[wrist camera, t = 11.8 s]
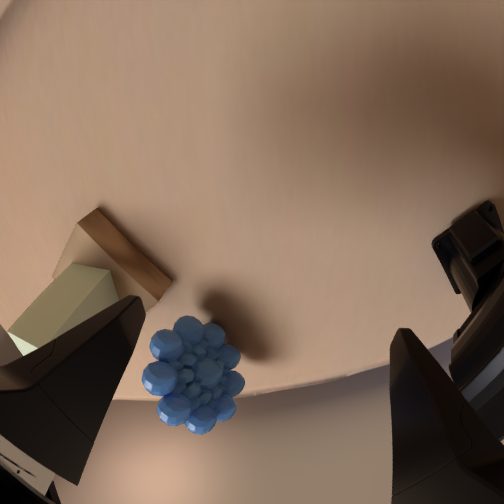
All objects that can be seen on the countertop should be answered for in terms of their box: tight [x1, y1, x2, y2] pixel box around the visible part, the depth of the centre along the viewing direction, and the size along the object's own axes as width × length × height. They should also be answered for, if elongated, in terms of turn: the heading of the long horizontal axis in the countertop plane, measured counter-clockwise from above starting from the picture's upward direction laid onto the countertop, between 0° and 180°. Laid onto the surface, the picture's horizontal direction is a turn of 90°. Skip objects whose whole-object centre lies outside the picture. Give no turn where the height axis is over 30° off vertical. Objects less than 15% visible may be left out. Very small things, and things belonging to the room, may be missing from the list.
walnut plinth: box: [52, 208, 172, 312], centre depth 27 cm, size 10×10×3 cm
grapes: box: [142, 315, 245, 434], centre depth 25 cm, size 12×7×12 cm, turn 30°
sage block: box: [7, 263, 119, 356], centre depth 22 cm, size 5×5×10 cm
